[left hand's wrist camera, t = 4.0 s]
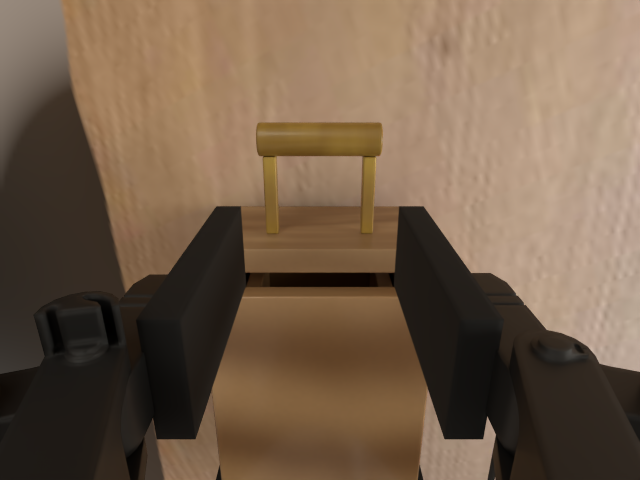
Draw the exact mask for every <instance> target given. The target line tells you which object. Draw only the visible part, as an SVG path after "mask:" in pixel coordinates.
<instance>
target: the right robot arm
mask: <svg viewBox="0 0 640 480" xmlns="http://www.w3.org/2000/svg"><path fill="white" fill-rule="evenodd" d="M216 480H222V479H221V470H220V466H219V470H218V474H217V478H216ZM418 480H423V477H422V473H421V469H420V465H419V472H418Z"/></svg>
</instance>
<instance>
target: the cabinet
mask: <svg viewBox="0 0 640 480" xmlns="http://www.w3.org/2000/svg"><path fill="white" fill-rule="evenodd" d="M245 274H246V285H247V282H248V279H249V276H250V273H245ZM394 274H395V273H389V276H390V279H391V282H392V285H393V287H245V290H244V293H243V296H242V299H241V302H240V305H239V308H238V311H237V314H236V317H235V320H234V324H233V327H232V330H231V333H230V336H229V339H228V342H227V345H226V348H225V351H224V354H223V357H222V360H221V363H220V366H219V369H218V372H217V375H216V378H215V381H214V384H213V387H212V398H213V407H214V416H215V425H216V434H217V443H218V452H219V461H220V470H221V479H222V480H418V472H419V463H420V454H421V445H422V436H423V427H424V418H425V409H426V400H427V390H428V387H427V384H426V381H425V378H424V375H423V372H422V369H421V366H420V363H419V360H418V357H417V354H416V351H415V348H414V345H413V342H412V339H411V336H410V333H409V330H408V327H407V324H406V320H405V317H404V314H403V311H402V308H401V305H400V302H399V299H398V296H397V293H396V290H395V287H394Z"/></svg>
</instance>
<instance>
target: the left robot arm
mask: <svg viewBox="0 0 640 480" xmlns="http://www.w3.org/2000/svg"><path fill="white" fill-rule="evenodd" d="M245 287H246V274H245V259H244V244H243V230H242V215H241V206H217V207H216V208H215V209H214V211H213V212H212V214H211V215H210V216H209V218H208V219H207V221H206V222H205V223H204V225H203V226H202V228H201V229H200V230H199V232H198V233H197V235H196V236H195V237H194V239H193V240H192V242H191V243H190V244H189V246H188V247H187V249H186V250H185V251H184V253H183V254H182V256H181V257H180V258H179V260H178V261H177V263H176V264H175V265H174V267H173V268H172V270H171V271H170V273H169V274H168V275H148V276H147V277H145V278H143V279H141V280H140V281H138V282H136V283H135V284H133V285H132V287H131V288H130V289H129V290H128V291H127V293H126V294H125V295H124V297H123V298H122V299H121V300H120V301H118V298H117V297H115V296H114V295H113V294H110V293H106V292H101V291H98V292H82V293H77V294H71V295H68V296H65V297H62V298H59V299H56V300H54V301H52V302H50V303H48V304H46V305H44V306H43V307H41V308H40V309H39V310H38V311H37V312H36V313H35V314H34V318H35V322H36V325H37V329H38V333H39V336H40V340H41V344H42V347H43V351H44V355H45V357H44V359H43V361H42V363H41V365H40V366H38V367H34V368H30V369H25V370H19V371H14V372H9V373H4V374H0V480H144V479H145V471H146V463H147V449H146V443H145V438H144V436H145V433H146V431H147V429H148V427H149V425H150V423H151V421H152V419H153V420H154V425H155V431H156V437H157V439H196V436H197V433H198V430H199V427H200V424H201V421H202V418H203V415H204V411H205V408H206V405H207V402H208V399H209V396H210V393H211V390H212V387H213V384H214V381H215V378H216V375H217V372H218V369H219V366H220V363H221V360H222V357H223V354H224V351H225V348H226V345H227V342H228V339H229V336H230V333H231V330H232V327H233V324H234V320H235V317H236V314H237V311H238V308H239V305H240V302H241V299H242V296H243V293H244V290H245ZM394 287H395V290H396V293H397V296H398V299H399V302H400V305H401V308H402V311H403V314H404V317H405V320H406V324H407V327H408V330H409V333H410V336H411V339H412V342H413V345H414V348H415V351H416V354H417V357H418V360H419V363H420V366H421V369H422V372H423V375H424V378H425V381H426V384H427V387H428V390H429V393H430V396H431V399H432V402H433V405H434V408H435V411H436V415H437V418H438V421H439V424H440V427H441V430H442V433H443V436H444V439H483V437H484V431H485V425H486V420H487V416H488V418H489V420H490V423H491V425H492V427H493V429H494V431H495V433H496V438H495V443H494V448H493V454H492V459H491V464H490V470H489V475H488V480H494V479H495V478H496V480H640V372H637V371H632V370H626V369H621V368H616V367H610V366H606V365H602V364H599V362H598V360H597V358H596V356H595V355H594V354H593V353H592V351H591V350H590V349H589V348H588V347H587V346H586V345H584V344H582V343H581V342H579V341H578V340H576V339H574V338H572V337H569V336H567V335H564V334H562V333H558V332H553V331H549V330H546V329H545V327H544V326H543V325H542V324H541V323H540V322H539V320H538V319H537V318H536V317H535V316H534V314H533V313H532V312H531V311H530V310H529V308H528V307H527V306H526V305H524V303H523V301H522V300H521V299H520V298H519V297H518V296H516V293H515V292H514V291H513V289H512V288H511V287H510V286H509V285H508V284H507V282H505V281H503V280H501V279H500V278H498V277H496V276H495V275H493V274H491V273H470V271H469V270H468V268H467V267H466V265H465V264H464V263H463V261H462V260H461V258H460V257H459V256H458V254H457V253H456V251H455V250H454V249H453V247H452V246H451V244H450V243H449V242H448V240H447V239H446V237H445V236H444V235H443V233H442V232H441V230H440V229H439V228H438V226H437V225H436V223H435V222H434V221H433V219H432V218H431V216H430V215H429V214H428V212H427V211H426V209H425V208H424V206H399V215H398V230H397V244H396V259H395V274H394Z"/></svg>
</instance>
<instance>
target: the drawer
mask: <svg viewBox="0 0 640 480" xmlns="http://www.w3.org/2000/svg"><path fill="white" fill-rule="evenodd" d="M256 144H257V152H258V155H259V156H264V157H263V173H264V194H265V207H241V215H242V230H243V244H244V259H245V273H250V276H249V279H248V282H247V285H246V287H393V285H392V282H391V279H390V276H389V273H395V259H396V244H397V230H398V215H399V207H374V196H375V174H376V157H375V156H380V155H381V152H382V145H383V129H382V124H381V123H258V124H257V129H256ZM277 156H363V158H362V186H361V207H278V183H277Z"/></svg>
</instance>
